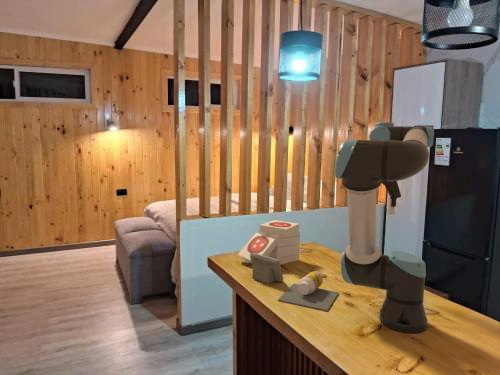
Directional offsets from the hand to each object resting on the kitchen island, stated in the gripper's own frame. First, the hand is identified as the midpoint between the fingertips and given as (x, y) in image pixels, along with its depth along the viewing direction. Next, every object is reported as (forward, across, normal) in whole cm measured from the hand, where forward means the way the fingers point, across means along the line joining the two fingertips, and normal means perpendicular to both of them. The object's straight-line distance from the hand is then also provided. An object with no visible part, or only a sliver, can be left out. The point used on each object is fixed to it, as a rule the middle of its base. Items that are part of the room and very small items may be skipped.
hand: (378, 211), depth 157 cm
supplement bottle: (+28, +6, +26) cm, 38 cm away
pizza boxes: (+32, +44, +27) cm, 61 cm away
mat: (+32, -1, +33) cm, 46 cm away
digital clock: (+32, +23, +40) cm, 56 cm away
